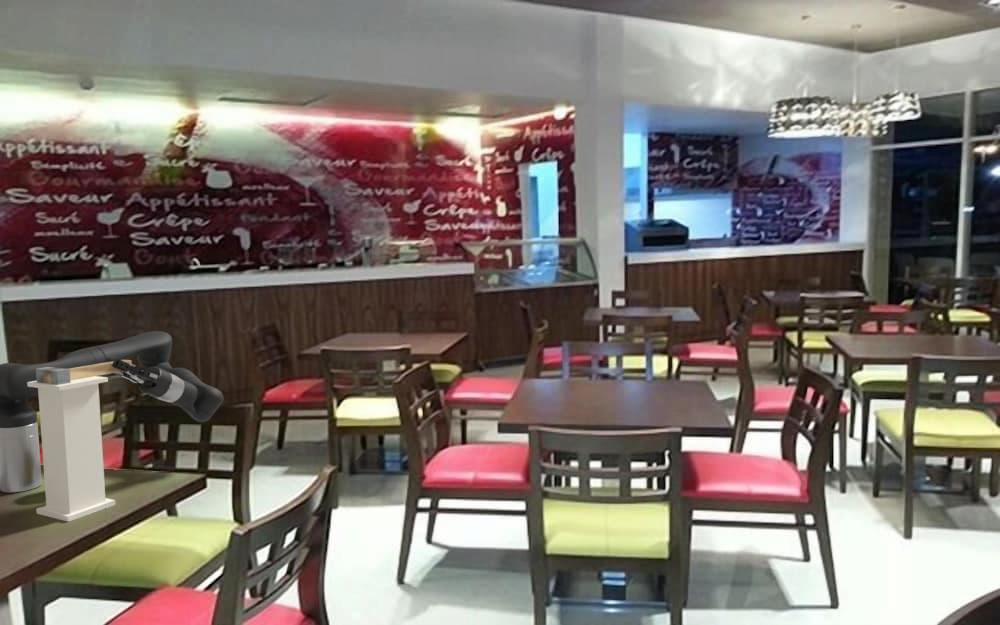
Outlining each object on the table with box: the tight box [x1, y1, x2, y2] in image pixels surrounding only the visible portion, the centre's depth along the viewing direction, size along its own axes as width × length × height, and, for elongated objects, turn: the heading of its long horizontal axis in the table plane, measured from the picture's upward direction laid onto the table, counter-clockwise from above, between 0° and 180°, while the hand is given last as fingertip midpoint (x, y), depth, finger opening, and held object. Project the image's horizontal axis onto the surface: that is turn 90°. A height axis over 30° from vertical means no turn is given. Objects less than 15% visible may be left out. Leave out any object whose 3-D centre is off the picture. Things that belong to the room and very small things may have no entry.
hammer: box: [36, 359, 133, 385], centre depth 179 cm, size 8×21×3 cm, turn 154°
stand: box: [27, 376, 116, 522], centre depth 175 cm, size 12×12×32 cm
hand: (109, 362), depth 183 cm, fingers closed on hammer, 3 cm apart
